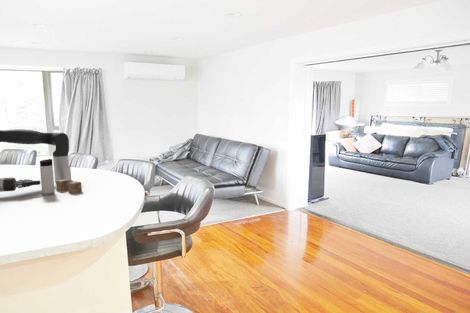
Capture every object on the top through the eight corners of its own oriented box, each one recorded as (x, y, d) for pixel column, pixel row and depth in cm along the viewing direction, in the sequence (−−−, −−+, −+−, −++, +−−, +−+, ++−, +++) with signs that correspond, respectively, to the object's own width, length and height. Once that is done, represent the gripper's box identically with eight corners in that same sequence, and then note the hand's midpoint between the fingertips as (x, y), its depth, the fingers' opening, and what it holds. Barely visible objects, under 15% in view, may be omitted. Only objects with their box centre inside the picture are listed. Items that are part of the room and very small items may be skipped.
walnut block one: (76, 191, 194) (75, 181, 193) (81, 192, 192) (81, 181, 191) (68, 192, 190) (68, 182, 189) (73, 193, 187) (73, 183, 187)
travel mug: (57, 193, 189) (55, 159, 187) (47, 195, 183) (45, 160, 181) (49, 192, 191) (46, 158, 189) (39, 194, 185) (36, 160, 183)
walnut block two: (64, 188, 200) (63, 179, 199) (69, 189, 198) (68, 179, 197) (56, 190, 196) (55, 180, 195) (61, 191, 193) (60, 181, 193)
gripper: (-1, 180, 173) (36, 178, 179) (8, 175, 186) (42, 174, 191) (0, 194, 174) (37, 191, 180) (9, 188, 187) (43, 186, 192)
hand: (39, 182), depth 185 cm, fingers closed
